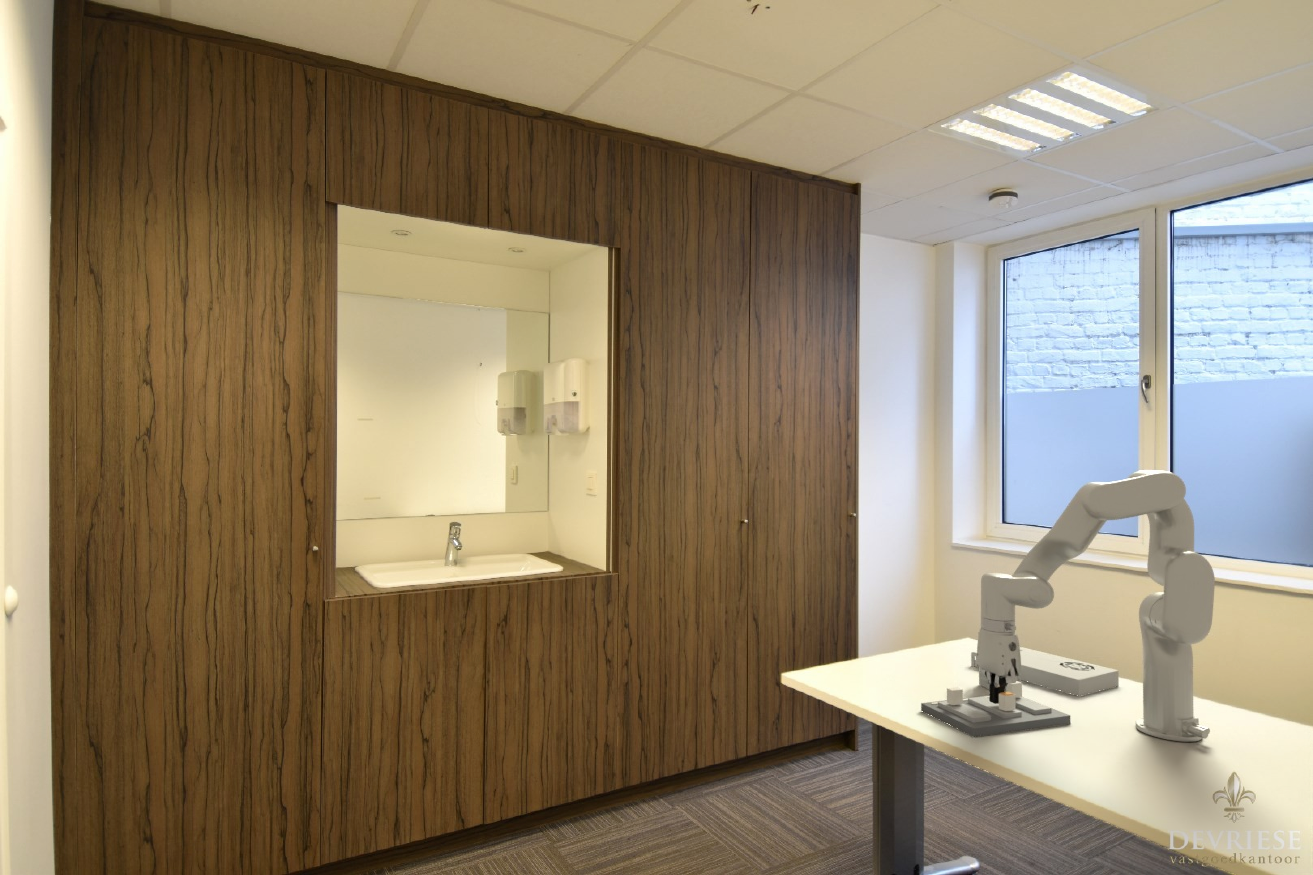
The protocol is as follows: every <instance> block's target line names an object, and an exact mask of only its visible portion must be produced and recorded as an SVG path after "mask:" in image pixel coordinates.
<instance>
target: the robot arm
mask: <svg viewBox="0 0 1313 875" xmlns="http://www.w3.org/2000/svg"><path fill="white" fill-rule="evenodd" d="M1186 491H1187V488H1186V484H1185V481H1183V479H1182V478H1181V477H1180V476H1179V475H1177V474H1175V473H1173V472H1171V471H1166V470H1153V469H1143V470H1138V471H1135V472H1131V474H1130V475H1128V477H1127V478H1126V479H1122V480H1116V481H1110V482H1104V481H1103V482H1102V481H1093V482H1088V483H1085V484H1083V486H1081V487H1080V488H1079V489H1078V490H1077V492H1076V493H1075V494H1074V495H1073V497H1072V499H1071V500H1070V502H1069V503H1068V505H1067V506H1065V507H1066V508H1065V509H1064V510H1063V512H1062V513H1061V515H1060V516H1059V517H1058V519H1057V520H1056V522H1055V523H1054V524H1053V526H1052V527H1051V528H1050V530H1049V531H1048V532H1047V533H1046V534H1045V535H1044V536H1043V537H1042V538H1041V539H1040V540H1039V541H1038V542H1037V543H1036V544H1035V545H1034V546H1033V547H1032V548H1031V549H1030V550H1029V551H1028V553H1027V554H1026V555H1025V556H1024V558H1023V559H1022V561H1021V562H1020V563H1019V565H1018V566H1017V568H1016V569H1015V571H1014V572H1013V573H1012V575H1011V574H1008V573H1002V572H1001V573H1000V572H987V573H984V574H982V576H981V580H980V628H979V631H978V632H979V636H978V637H977V644H976V645H977V647H976V653H977V664H978V666H979V667H980V671H981V672H982V673H983V674H985V675H986V677H987V682H988V684H989V685H990V686H989V689H988V690H989V694H988V695H989V701H990V702H993V703H994V704H998V703H999V693H1002V692H1006V690H1005V687H1007V684H1008V683H1016V677H1015V676H1020V675H1021V654H1020V647H1021V646H1020V642H1019V637H1018V634H1017V633H1016V630H1017V626H1016V606H1018V607H1025V608H1029V609H1036V610H1038V609H1044V608H1047V607H1048V606H1049V605H1051V604H1052V602H1053V601H1054V598H1055V591H1054V588H1053V586H1052V585H1051V584H1050V583H1049V580H1050V579H1051V577H1052V576H1053V575H1054V574H1055V572H1056V571H1057V570H1058V569H1059V568H1060V567H1061V566H1062V565H1064V564H1065V563H1066V562H1068V561H1070V560H1072V559H1075V558H1077V557H1079V556H1081V555H1082V554H1083V553H1085V552H1086V551H1087V549H1088V548H1089V546H1090V545H1091V544H1092V542H1093V540H1094V539H1095V538H1096V536H1097V535H1098V534H1099V532H1100V531H1101V529H1102V528H1103V527H1104V525H1105V524H1106V522H1107V521H1118V520H1122V519H1129V518H1134V517H1135V518H1136V517H1139V516H1144V515H1146V516H1147V518H1148V524H1149V542H1148V552H1147V553H1148V554H1147V555H1148V556H1147V564H1146V565H1147V574H1148V576H1149V578H1151V580H1152V581H1153V582H1155V583H1156V584H1158V585H1159V586H1162V587H1163V591H1158V592H1157V591H1155V592H1153V593H1151V594H1148V595H1146V597H1145V598H1143V600H1141V603H1140V606H1139V608H1138V621H1139V626H1140V634H1141V640H1142V642H1141V643H1142V644H1141V645H1142V699H1143V700H1142V705H1143V706H1142V707H1143V708H1142V710H1143V711H1142V712H1143V714H1142V716H1143V718H1141V717H1140V718H1137V720H1135V728H1136V729H1138V730H1139V731H1140V732H1142V733H1144V734H1146V735H1149V736H1152V737H1154V738H1159V739H1161V740H1162V739H1163V740H1168V741H1174V742H1184V743H1186V742H1187V743H1190V742H1198V741H1201V740H1202V739H1208V738H1209V734H1210V732H1211V730H1210V728H1209V727H1206V726H1203V725H1200V723H1199V717H1197V716H1194V715H1195V714H1194V654H1193V646H1192V645H1196V644H1198V643H1200V642H1202V641H1203V640H1205V639H1206V638H1207V636H1208V635H1209V633H1210V632H1211V627H1212V624H1213V616H1214V615H1213V613H1214V603H1215V586H1216V585H1215V583H1216V582H1215V581H1216V580H1215V579H1216V578H1215V573H1214V570H1213V566H1212V565H1211V564H1210V562H1209V561H1208V559H1207V558H1206V557H1205V556H1204V555H1202V554H1200V553H1198V552H1195V520H1194V516H1193V513H1192V510H1191V508H1190V506H1189V504H1188V502H1187V501H1186V500H1185V496H1186V494H1187V492H1186Z"/></svg>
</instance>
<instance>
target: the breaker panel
mask: <svg viewBox="0 0 1313 875" xmlns="http://www.w3.org/2000/svg"><path fill="white" fill-rule="evenodd" d="M920 707H921V708H920V711H923V712H925V713H927V714H929V715H928V716H930V715H932V716H933V717H932V716H931V717H932V718H934V717H935V718H934V719H936V720H938V719H940V720H941V721H940V720H939V721H940V722H942V721H943V723H944V722H945V723H944V724H946V723H948V724H950V725H951V726H950V725H949V726H950V727H952V726H953V727H952V728H954V729H956V728H958V729H959V730H958V729H957V730H958V731H960V732H963V733H964V732H965V733H964V734H966V733H967V734H966V735H968V734H969V736H970V737H972V736H973V737H972V738H979V737H978V736H981V737H987V736H992V735H1001V734H1007V733H1016V732H1023V731H1030V730H1037V729H1045V728H1051V727H1058V726H1059V727H1061V726H1066V725H1071V714H1068V713H1065V712H1063V711H1060V710H1057V709H1055V708H1052V707H1049V706H1048V705H1046V704H1045V705H1044V704H1042V703H1040V702H1037V701H1034V700H1031V699H1029V698H1026V697H1025V696H1022V697H1018V698H1015V710H1011V711H1004V710H1001V709H999V703H998V704H994V703H993V702H990V701H989V694H987V695H980V696H970V697H963V704H960V705H950V704H948V703H947V699H946V700H945V699H944V700H938V701H930V702H928V701H927V702H921V703H920ZM923 712H922V713H923ZM925 713H924V714H925ZM927 714H926V715H927ZM948 724H947V725H948Z"/></svg>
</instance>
